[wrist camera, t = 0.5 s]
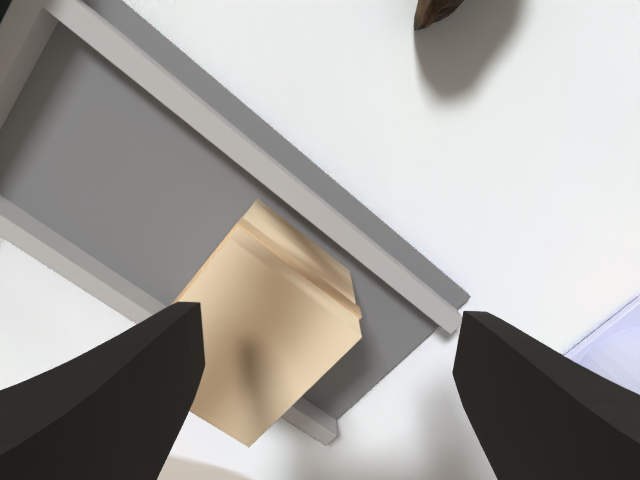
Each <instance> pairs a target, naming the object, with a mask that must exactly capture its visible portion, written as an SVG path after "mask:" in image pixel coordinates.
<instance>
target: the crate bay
mask: <svg viewBox="0 0 640 480" xmlns="http://www.w3.org/2000/svg"><path fill="white" fill-rule="evenodd" d="M257 198H258V199H259V200H261V201H262V202H263V203H264V204H266V205H267V206H268V207H270V208H271V209H272V210H273V211H275V212H276V213H277V214H278V215H280V216H281V217H282V218H283V219H285V220H286V221H287V222H289V223H290V224H291V225H292V226H294V227H295V228H296V229H297V230H299V231H300V232H301V233H302V234H304V235H305V236H306V237H308V238H309V239H310V240H311V241H313V242H314V243H315V244H316V245H318V246H319V247H320V248H322V249H323V250H324V251H325V252H327V253H328V254H329V255H330V256H332V257H333V258H334V259H335V260H337V261H338V262H339V263H341V264H342V265H343V266H344V267H346V268H347V269H348V270H349V271H350V274H351V280H352V285H353V291H354V296H355V302H356V305H357V306H359V307H360V311H361V316H362V318H361V319H360V320H359V324H360V330H361V335H362V338H361V339H360V340H359V341H358V342H357V343H356V344H355V345H354V346H353V347H352V348H351V349H350V350H349V351H348V352H347V353H345V354H344V355H343V356H342V357H341V358H340V359H339V360H338V361H337V362H336V363H335V364H334V365H333V366H332V367H331V368H330V369H329V370H328V371H327V372H326V373H325V374H324V375H323V376H322V377H321V378H320V379H319V380H318V381H317V382H316V383H315V384H314V385H313V386H312V387H311V388H310V389H309V390H307V391H306V392H305V393H304V394H303V395H302V396H301V397H300V398H299V399H298V400H297V401H296V402H295V403H294V404H293V405H292V406H291V407H290V408H289V409H288V410H287V411H286V412H285V413H284V414H283V415H282V416H281V417H282V418H283V419H285V420H286V421H288V422H289V423H291V424H292V425H294V426H296V427H297V428H299V429H300V430H302V431H303V432H305V433H306V434H308V435H309V436H311V437H313V438H314V439H316V440H317V441H319V442H320V443H322V444H323V445H325V446H327V445H328V444H329V443H330V442H331V441H332V440H333V439H334V438H335V437H337V425H336V420H337V419H338V418H339V417H340V416H341V415H342V414H343V413H344V412H345V411H347V410H348V409H349V408H350V407H351V406H352V405H353V404H354V403H355V402H356V401H357V400H359V399H360V398H361V397H362V396H363V395H364V394H365V393H366V392H367V391H368V390H369V389H371V388H372V387H373V386H374V385H375V384H376V383H377V382H378V381H379V380H380V379H382V378H383V377H384V376H385V375H386V374H387V373H388V372H389V371H390V370H391V369H392V368H394V367H395V366H396V365H397V364H398V363H399V362H400V361H401V360H402V359H403V358H404V357H406V356H407V355H408V354H409V353H410V352H411V351H412V350H413V349H414V348H415V347H417V346H418V345H419V344H420V343H421V342H422V341H423V340H424V339H425V338H426V337H427V336H429V335H430V334H431V333H432V332H433V331H434V330H435V329H436V328H437V327H438V326H439V325H440V326H441V327H442V328H443V329H445V330H446V331H447V332H448V333H450V334H451V333H453V332H454V331H455V330H456V329H457V328H458V327H459V326H460V325H461V323H462V316H461V315H460V313H459V312H458V310H457V309H458V308H459V307H460V306H461V305H462V304H464V303H465V302H466V301H467V300H468V299H469V298H470V296H469V294H468V293H467V292H465V291H464V290H463V289H462V288H461V287H460V286H458V285H457V284H456V283H455V282H454V281H453V280H451V279H450V278H449V277H448V276H447V275H445V274H444V273H443V272H442V271H441V270H440V269H438V268H437V267H436V266H435V265H434V264H432V263H431V262H430V261H429V260H428V259H427V258H425V257H424V256H423V255H422V254H421V253H419V252H418V251H417V250H416V249H415V248H414V247H412V246H411V245H410V244H409V243H408V242H406V241H405V240H404V239H403V238H402V237H401V236H399V235H398V234H397V233H396V232H395V231H394V230H392V229H391V228H390V227H389V226H388V225H386V224H385V223H384V222H383V221H382V220H381V219H379V218H378V217H377V216H376V215H375V214H373V213H372V212H371V211H370V210H369V209H368V208H366V207H365V206H364V205H363V204H362V203H360V202H359V201H358V200H357V199H356V198H355V197H353V196H352V195H351V194H350V193H349V192H348V191H346V190H345V189H344V188H343V187H342V186H340V185H339V184H338V183H337V182H336V181H335V180H333V179H332V178H331V177H330V176H329V175H327V174H326V173H325V172H324V171H323V170H322V169H320V168H319V167H318V166H317V165H316V164H314V163H313V162H312V161H311V160H310V159H309V158H307V157H306V156H305V155H304V154H303V153H302V152H300V151H299V150H298V149H297V148H296V147H294V146H293V145H292V144H291V143H290V142H289V141H287V140H286V139H285V138H284V137H283V136H281V135H280V134H279V133H278V132H277V131H276V130H274V129H273V128H272V127H271V126H270V125H268V124H267V123H266V122H265V121H264V120H263V119H261V118H260V117H259V116H258V115H257V114H255V113H254V112H253V111H252V110H251V109H250V108H248V107H247V106H246V105H245V104H244V103H243V102H241V101H240V100H239V99H238V98H237V97H235V96H234V95H233V94H232V93H231V92H230V91H228V90H227V89H226V88H225V87H224V86H222V85H221V84H220V83H219V82H218V81H217V80H215V79H214V78H213V77H212V76H211V75H209V74H208V73H207V72H206V71H205V70H204V69H202V68H201V67H200V66H199V65H198V64H197V63H195V62H194V61H193V60H192V59H191V58H189V57H188V56H187V55H186V54H185V53H184V52H182V51H181V50H180V49H179V48H178V47H176V46H175V45H174V44H173V43H172V42H171V41H169V40H168V39H167V38H166V37H165V36H163V35H162V34H161V33H160V32H159V31H158V30H156V29H155V28H154V27H153V26H152V25H151V24H149V23H148V22H147V21H146V20H145V19H143V18H142V17H141V16H140V15H139V14H138V13H136V12H135V11H134V10H133V9H132V8H130V7H129V6H128V5H127V4H126V3H125V2H123V1H122V0H12V2H11V4H10V6H9V8H8V10H7V12H6V14H5V16H4V18H3V20H2V22H1V24H0V236H1V237H2V238H4V239H5V240H7V241H8V242H10V243H12V244H13V245H15V246H16V247H18V248H19V249H21V250H22V251H24V252H25V253H27V254H29V255H30V256H32V257H33V258H35V259H36V260H38V261H39V262H41V263H43V264H44V265H46V266H47V267H49V268H50V269H52V270H53V271H55V272H57V273H58V274H60V275H61V276H63V277H64V278H66V279H67V280H69V281H71V282H72V283H74V284H75V285H77V286H78V287H80V288H81V289H83V290H84V291H86V292H88V293H89V294H91V295H92V296H94V297H95V298H97V299H98V300H100V301H102V302H103V303H105V304H106V305H108V306H109V307H111V308H112V309H114V310H116V311H117V312H119V313H120V314H122V315H123V316H125V317H126V318H128V319H129V320H131V321H133V322H134V323H136V324H138V323H140V322H142V321H144V320H145V319H147V318H149V317H150V316H152V315H154V314H156V313H157V312H159V311H161V310H163V309H164V308H166V307H168V306H170V305H171V304H172V303H173V302H174V301H175V299H176V298H177V297H178V296H179V294H180V293H181V292H182V291H183V289H184V288H185V287H186V286H187V284H188V283H189V282H190V281H191V279H192V278H193V277H194V276H195V274H196V273H197V272H198V271H199V269H200V268H201V267H202V266H203V264H204V263H205V262H206V261H207V259H208V258H209V257H210V256H211V254H212V253H213V252H214V251H215V249H216V248H217V247H218V246H219V244H220V243H221V242H222V241H223V239H224V238H225V237H226V236H227V234H228V233H229V232H230V231H231V230H232V228H233V227H234V226H235V225H236V223H237V222H238V221H239V220H240V218H241V217H243V216H244V214H245V213H246V212H247V211H248V209H249V208H250V207H251V206H252V204H253V203H254V202H255V201H256V199H257Z"/></svg>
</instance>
